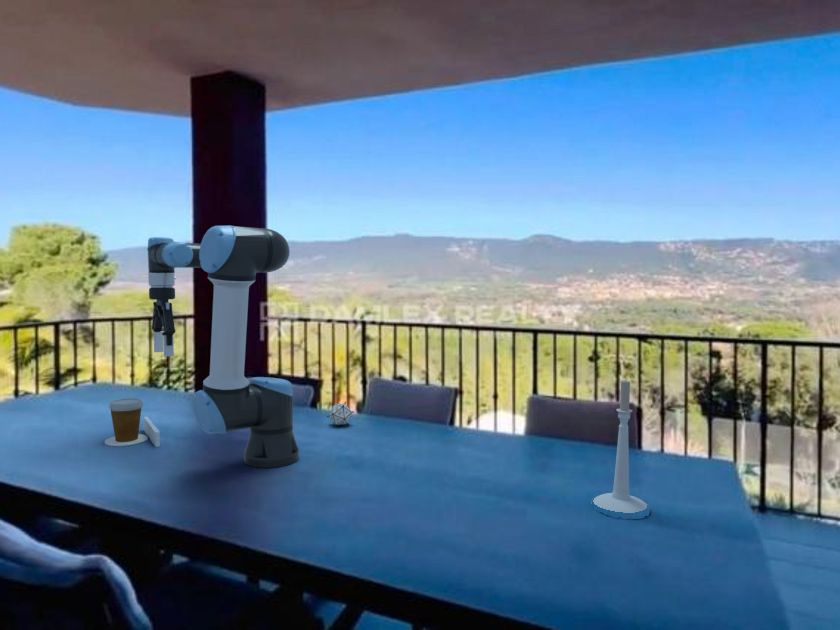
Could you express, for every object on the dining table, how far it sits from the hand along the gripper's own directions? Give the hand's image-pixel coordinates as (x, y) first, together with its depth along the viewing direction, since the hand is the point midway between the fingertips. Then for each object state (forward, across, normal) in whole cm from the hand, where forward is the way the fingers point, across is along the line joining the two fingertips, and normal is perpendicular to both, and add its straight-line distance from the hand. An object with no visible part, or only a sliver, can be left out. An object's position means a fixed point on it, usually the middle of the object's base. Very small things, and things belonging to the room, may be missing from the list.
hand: (163, 354), depth 187 cm
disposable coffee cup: (+26, +2, +11) cm, 28 cm away
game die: (+27, -18, -53) cm, 62 cm away
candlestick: (+29, -117, -72) cm, 141 cm away
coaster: (+26, +2, +11) cm, 29 cm away
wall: (+26, +1, +4) cm, 27 cm away
